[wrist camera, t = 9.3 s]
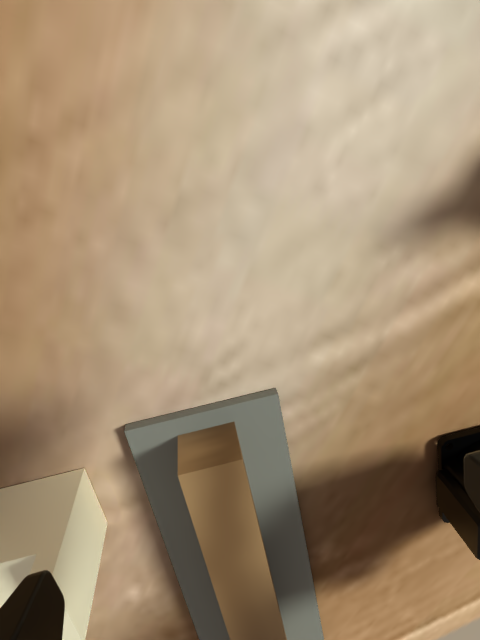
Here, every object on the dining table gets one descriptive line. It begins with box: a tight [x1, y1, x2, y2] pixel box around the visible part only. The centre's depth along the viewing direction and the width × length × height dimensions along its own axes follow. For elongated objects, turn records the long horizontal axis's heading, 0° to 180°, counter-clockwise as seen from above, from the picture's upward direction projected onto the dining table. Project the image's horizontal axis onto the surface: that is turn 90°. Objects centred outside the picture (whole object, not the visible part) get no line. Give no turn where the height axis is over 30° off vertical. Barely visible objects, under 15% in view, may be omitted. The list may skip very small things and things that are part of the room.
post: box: [0, 468, 107, 640], centre depth 20 cm, size 6×4×6 cm, turn 101°
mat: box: [124, 388, 324, 640], centre depth 27 cm, size 8×24×1 cm, turn 11°
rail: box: [178, 422, 287, 640], centre depth 25 cm, size 3×22×3 cm, turn 11°
